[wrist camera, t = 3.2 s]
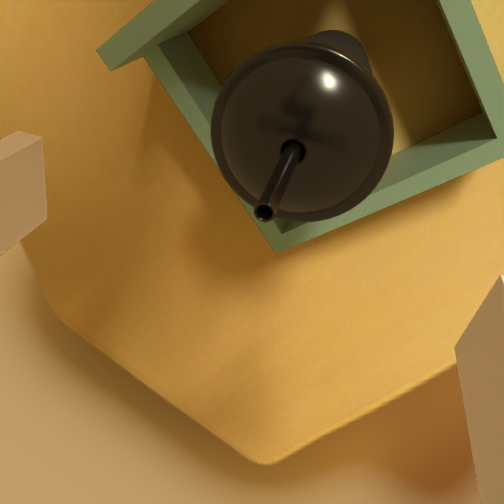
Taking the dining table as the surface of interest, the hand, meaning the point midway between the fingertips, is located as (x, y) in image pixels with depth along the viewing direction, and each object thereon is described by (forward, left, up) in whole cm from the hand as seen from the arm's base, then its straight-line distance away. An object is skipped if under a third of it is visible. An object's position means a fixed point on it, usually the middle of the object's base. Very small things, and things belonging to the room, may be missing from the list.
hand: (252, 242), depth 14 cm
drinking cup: (0, 0, -22) cm, 22 cm away
